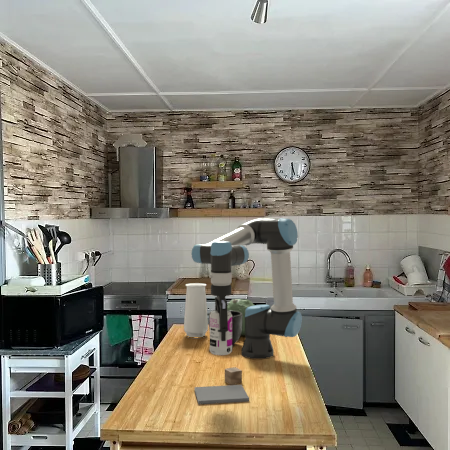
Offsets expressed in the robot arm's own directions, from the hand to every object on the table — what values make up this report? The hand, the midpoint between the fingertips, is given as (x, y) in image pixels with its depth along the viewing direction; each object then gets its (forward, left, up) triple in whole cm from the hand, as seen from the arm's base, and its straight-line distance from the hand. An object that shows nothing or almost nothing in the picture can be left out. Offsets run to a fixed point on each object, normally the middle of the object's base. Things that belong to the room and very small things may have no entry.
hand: (221, 346), depth 182 cm
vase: (0, -90, -18) cm, 92 cm away
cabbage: (-25, -89, -18) cm, 94 cm away
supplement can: (0, 0, -2) cm, 2 cm away
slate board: (0, 0, -18) cm, 18 cm away
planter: (-13, -70, -18) cm, 74 cm away
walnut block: (-7, -14, -18) cm, 24 cm away
